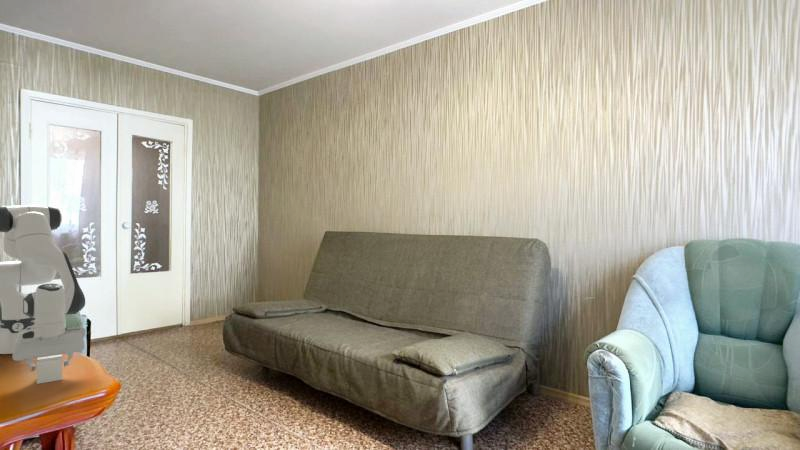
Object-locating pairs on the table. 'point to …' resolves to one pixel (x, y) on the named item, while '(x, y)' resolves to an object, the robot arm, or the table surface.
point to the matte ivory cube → (49, 368)
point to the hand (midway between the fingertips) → (49, 368)
